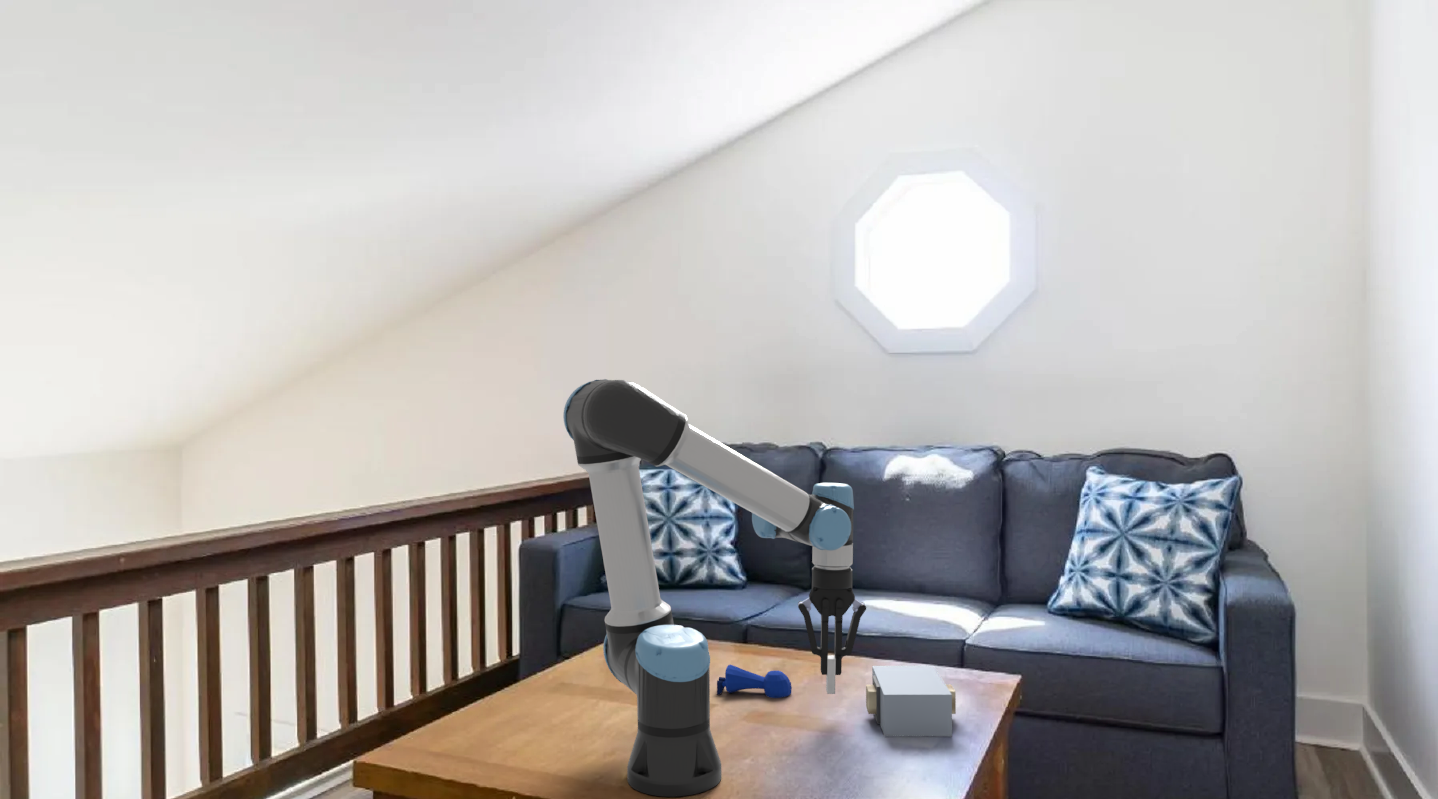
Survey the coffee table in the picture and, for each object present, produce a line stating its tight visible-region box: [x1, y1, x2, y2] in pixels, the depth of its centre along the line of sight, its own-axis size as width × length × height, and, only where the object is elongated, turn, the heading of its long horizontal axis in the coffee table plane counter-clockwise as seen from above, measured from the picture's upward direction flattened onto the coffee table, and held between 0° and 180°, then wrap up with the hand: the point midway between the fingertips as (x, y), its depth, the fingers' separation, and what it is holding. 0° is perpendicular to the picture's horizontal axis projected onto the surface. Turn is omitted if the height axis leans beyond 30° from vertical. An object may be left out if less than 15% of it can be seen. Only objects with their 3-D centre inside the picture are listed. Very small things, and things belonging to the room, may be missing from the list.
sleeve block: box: [871, 665, 953, 737], centre depth 189 cm, size 18×13×8 cm
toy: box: [716, 664, 793, 699], centre depth 206 cm, size 7×6×15 cm
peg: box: [865, 684, 957, 715], centre depth 189 cm, size 4×16×4 cm, turn 88°
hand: (830, 691), depth 189 cm, fingers closed
